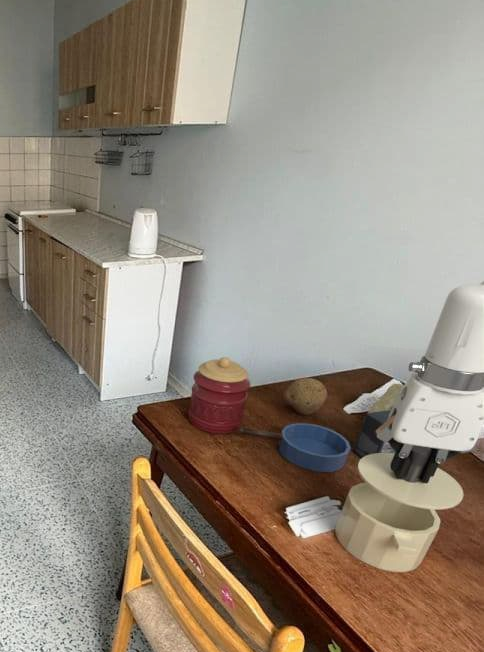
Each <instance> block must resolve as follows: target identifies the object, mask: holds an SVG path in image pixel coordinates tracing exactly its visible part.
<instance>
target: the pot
mask: <svg viewBox="0 0 484 652" xmlns="http://www.w3.org/2000/svg"><path fill="white" fill-rule="evenodd" d="M441 521H442V520H441V518H440V517H439V515H438V513H437V511H436V509H425V508H419V507H414V506H410V505H407V504H404V503H401V502H398V501H395V500H393V499H391V498H389V497H386V496H384V495H383V494H381V493H379V492H377V491H376V490H374V489H373V488H372V487H370V486H369V485H368V484H367V483H366V482H360V483H358V484H355V485H353V486H351V488H350V489H349V491H348V494H347V496H346V499H345V501H344V504H343V507H342V508H341V511H340V514H339V517H338V519H337V522H336V525H335V530H334V531H335V537H336V539H337V541H338V543H339V544H340V545H341V546H342V547H343V548H344V550H345V551H346V552H347V553H349V554H350V555H352V556H353V557H355V558H356V559H357V560H359V561H361V562H363V563H364V564H367V565H368V566H371V567H373V568H376V569H378V570H379V569H380V570H383V571H385V572H386V571H387V572H393V573H407V572H411V571H414V570H416V569H417V568H418V567H419V566H420V565H421V564H422V563H423V560H424V558H425V556H426V554H427V552H428V550H429V548H430V547H431V544H432V543H433V541H434V539H435V538H436V535H437V534H438V532H439V530H440V526H441Z"/></svg>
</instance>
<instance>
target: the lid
mask: <svg viewBox="0 0 484 652" xmlns="http://www.w3.org/2000/svg"><path fill="white" fill-rule="evenodd" d="M429 450H430V449H428V447H422V446H415V445H414V446H413V448H412V449H411V451H410V453H409V456H408V457H409V458H410V463H409V466H408V468H407V471H406V473H405V475H404V478H403V479H397V478H396V476H395V474H394V472H393V471H392V470H391V468H390V465H391V462H392V459H393V457H394V454H392V453H375V454H370V455H367V456H365V457H363V458H360V459H359V461H358V463H357V467H356V468H357V473H358V475H359V477H360V478H361V480H362V481H363V482H364V483H367V484H368V485H369V486H370V487H372V488H373V489H374V490H376V491H377V492H379V493H381V494H383V495H384V496H386V497H389V498H391V499H393V500H395V501H398V502H401V503H404V504H407V505H410V506H414V507H419V508H425V509H434V510H448V509H452V508H454V507H457V506H459V504H461V502H462V500H463V499H464V491H463V490H464V489H463V488H462V486H461V485H460V483H459V482H458V481H457V480H456V479H455V478H454V477H453V476H452V475H450V474H449V473H447V472H446V471H444V470H443V469H441V468H439V467H437V470H436V472H435V474H434V476H433V477H430V479H429V482H428V483H427V484H426V483H422V482H421V480H420V476H421V474H422V471H423V469H424V467H425V465H426V462H427V460H428V458H429V455H430V451H429Z"/></svg>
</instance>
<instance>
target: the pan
mask: <svg viewBox="0 0 484 652" xmlns="http://www.w3.org/2000/svg"><path fill="white" fill-rule="evenodd" d="M280 433H281V434H282V439H281V440H278V443H277V445H278V446H277V449H278V452H279V454H280V455H281V457H283V458H284V459H285V460H286V461H288V462H290V463H291V464H292V465H295V466H297V467H299V468H302V469H304V470H309V471H312V472H317V473H333V472H338V471H339V470H341V469H343V468H344V467H345V465H346V462H347V460H348V457H349V455H350V453H351V449H352V448H351V445H350V442H349V440H347V439H346V437H344V436H343V435H342V434H341V433H338V432H336V431H335V430H333V429H331V428H328V427H324V426H322V425H320V424H319V425H318V424H313V423H305V422H302V423H300V422H299V423H291V424H288V425H285V426H284V427H283V428H282V430H281V431H280Z"/></svg>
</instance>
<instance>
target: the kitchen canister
mask: <svg viewBox="0 0 484 652" xmlns="http://www.w3.org/2000/svg"><path fill="white" fill-rule="evenodd" d="M248 377H249V372H248V370H247V369H246V368H244V367H243V366H242V365H241V364H240V363H238V362H236V361H232V360H231V359H230V358H229V357H227V356H222V357H221V358H218V359H217V358H216V359H210V360H208V361H206V362H202V363H201V364H200V365H199V366H198V370H197V371H196V372H194V374H193V381H194V383H193V385H192V386H191V394H190V395H191V396H190V402H189V406H188V409H187V416H188V417H187V419H188V420H189V422H190V424H192V425H193V426H194V427H195V428H197V429H199V430H201V431H203V432H207V433H210V434H211V433H212V434H220V435H221V434H223V435H224V434H230V433H234V432H236V431H237V430H239V428H241V425H242V422H243V418H244V417H243V416H244V410H245V406H246V401H247V400H248V396H249V395H248V393H247V390H249V388H250V386H251V381H250V379H249V378H248Z"/></svg>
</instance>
